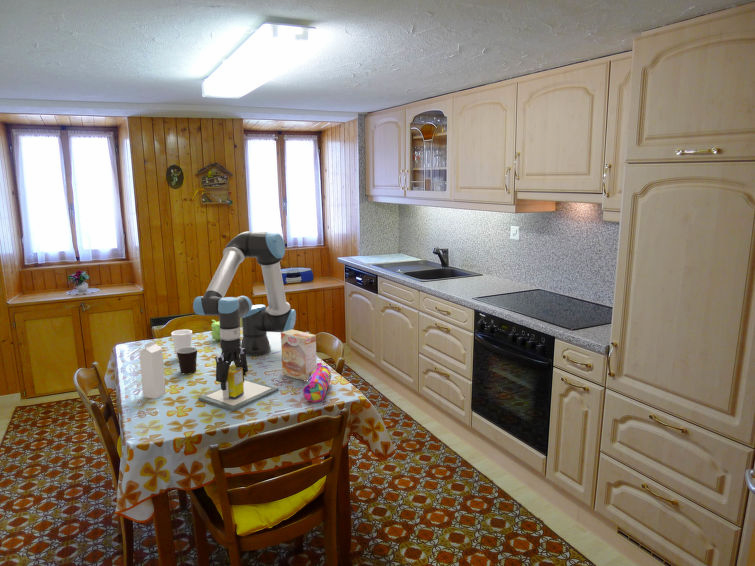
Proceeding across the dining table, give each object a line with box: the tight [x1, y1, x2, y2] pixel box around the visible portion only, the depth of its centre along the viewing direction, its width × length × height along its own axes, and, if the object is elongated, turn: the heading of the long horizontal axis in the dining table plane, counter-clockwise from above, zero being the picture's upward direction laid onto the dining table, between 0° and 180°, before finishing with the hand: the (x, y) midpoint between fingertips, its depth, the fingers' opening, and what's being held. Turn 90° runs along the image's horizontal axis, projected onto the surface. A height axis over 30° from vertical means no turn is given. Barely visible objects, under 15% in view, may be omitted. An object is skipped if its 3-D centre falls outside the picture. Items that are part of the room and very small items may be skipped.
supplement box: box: [226, 365, 244, 399], centre depth 205 cm, size 6×6×11 cm
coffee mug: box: [177, 346, 198, 375], centre depth 237 cm, size 12×9×10 cm
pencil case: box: [302, 362, 332, 403], centre depth 212 cm, size 22×9×9 cm, turn 0°
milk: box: [139, 340, 167, 400], centre depth 208 cm, size 6×6×22 cm
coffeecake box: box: [280, 328, 317, 382], centre depth 229 cm, size 15×7×20 cm, turn 53°
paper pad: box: [197, 377, 280, 412], centre depth 211 cm, size 24×20×1 cm
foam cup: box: [170, 329, 193, 360], centre depth 253 cm, size 10×9×13 cm
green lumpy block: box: [211, 319, 221, 342], centre depth 284 cm, size 15×14×11 cm
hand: (233, 394), depth 206 cm, fingers closed on supplement box, 7 cm apart
